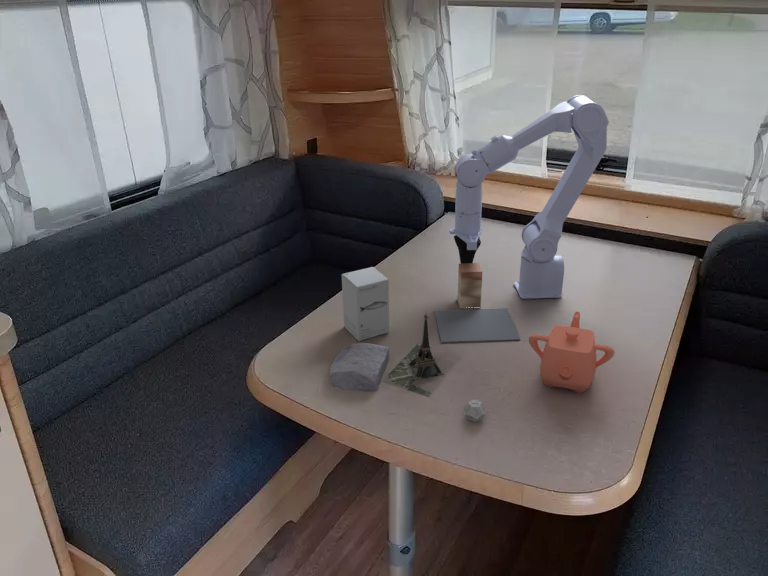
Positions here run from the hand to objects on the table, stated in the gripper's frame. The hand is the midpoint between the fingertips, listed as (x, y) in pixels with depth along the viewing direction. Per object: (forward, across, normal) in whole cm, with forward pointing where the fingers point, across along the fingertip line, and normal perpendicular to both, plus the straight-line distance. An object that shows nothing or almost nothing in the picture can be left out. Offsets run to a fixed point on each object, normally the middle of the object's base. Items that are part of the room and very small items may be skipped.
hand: (466, 266), depth 143 cm
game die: (+7, +46, -5) cm, 47 cm away
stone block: (+7, +31, -24) cm, 40 cm away
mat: (+6, +16, 0) cm, 17 cm away
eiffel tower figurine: (+7, +31, -12) cm, 34 cm away
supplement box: (+7, +16, -23) cm, 29 cm away
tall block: (+6, +6, 0) cm, 9 cm away
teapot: (+7, +36, +14) cm, 39 cm away
